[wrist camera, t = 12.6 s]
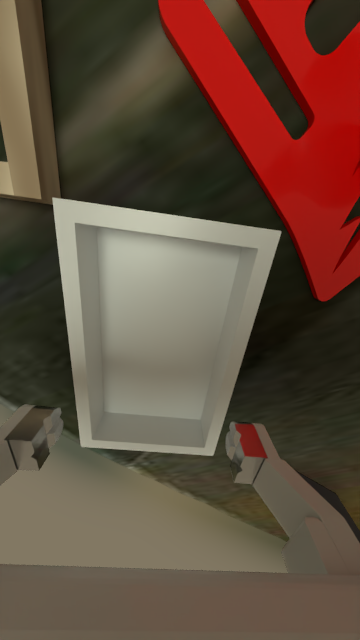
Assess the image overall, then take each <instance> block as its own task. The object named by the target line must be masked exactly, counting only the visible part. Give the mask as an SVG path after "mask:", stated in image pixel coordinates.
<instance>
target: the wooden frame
mask: <svg viewBox="0 0 360 640" xmlns="http://www.w3.org/2000/svg"><path fill="white" fill-rule="evenodd" d="M0 121H1V126H2V132H3V137H4V143H5V148H6V154H7V159H8V163H7V162H1V161H0V197H3V198H10V199H17V200H23V201H30V202H37V203H44V204H51V205H53V200H52V197H53V198H60V199H61V193H60V183H59V173H58V163H57V153H56V143H55V133H54V123H53V113H52V103H51V93H50V83H49V73H48V63H47V53H46V43H45V33H44V23H43V13H42V3H41V0H0Z"/></svg>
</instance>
